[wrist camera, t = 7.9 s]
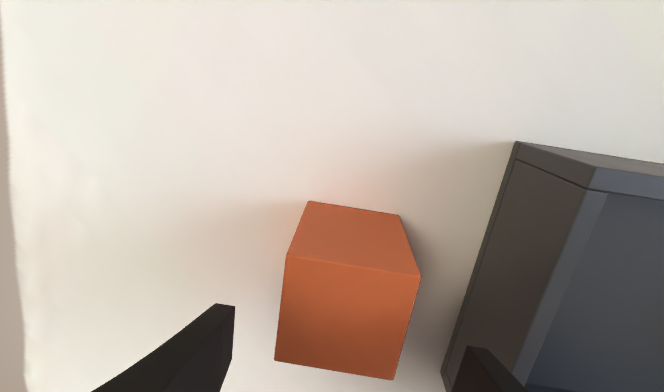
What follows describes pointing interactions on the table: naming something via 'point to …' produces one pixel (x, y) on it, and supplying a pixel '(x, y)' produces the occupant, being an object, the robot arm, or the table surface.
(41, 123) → the table surface
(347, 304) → the terracotta block
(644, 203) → the tub
